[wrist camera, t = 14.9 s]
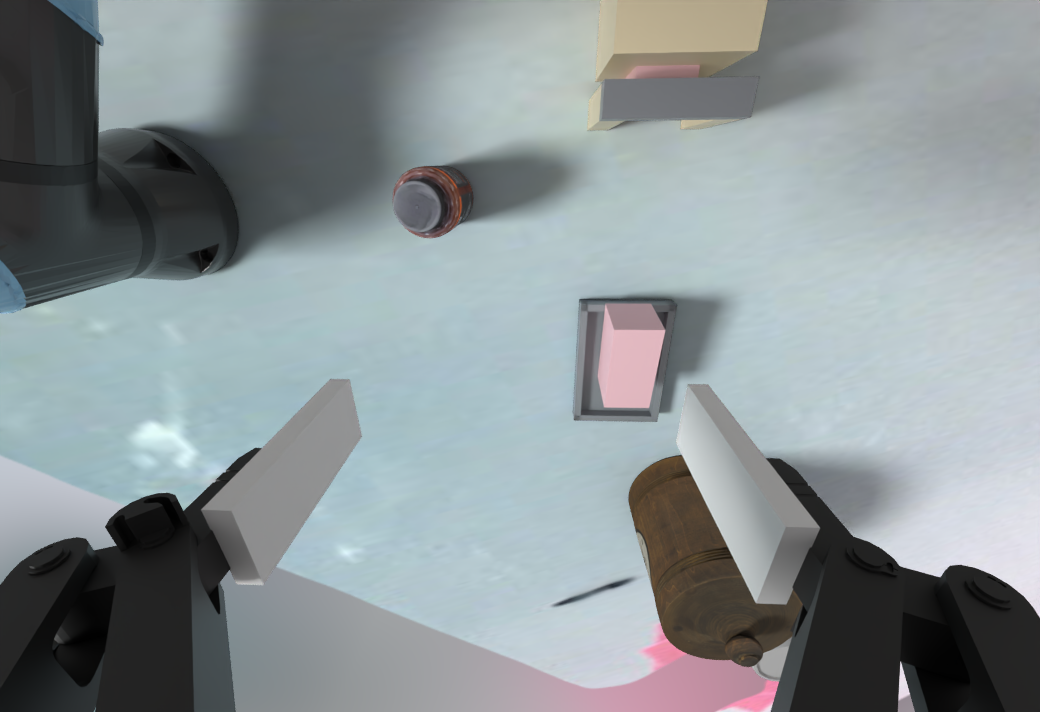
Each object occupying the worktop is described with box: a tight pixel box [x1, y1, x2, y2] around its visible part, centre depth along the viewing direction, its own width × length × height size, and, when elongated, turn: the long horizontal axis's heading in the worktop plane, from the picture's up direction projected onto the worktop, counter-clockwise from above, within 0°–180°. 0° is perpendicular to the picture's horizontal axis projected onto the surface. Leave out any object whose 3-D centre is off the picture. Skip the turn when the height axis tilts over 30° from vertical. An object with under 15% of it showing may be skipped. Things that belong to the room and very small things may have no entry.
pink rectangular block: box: [598, 303, 665, 408], centre depth 44 cm, size 5×10×6 cm, turn 1°
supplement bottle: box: [393, 166, 473, 238], centre depth 37 cm, size 6×6×11 cm
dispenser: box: [587, 0, 768, 131], centre depth 32 cm, size 11×12×10 cm
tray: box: [573, 299, 677, 422], centre depth 48 cm, size 11×16×2 cm
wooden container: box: [629, 456, 802, 667], centre depth 48 cm, size 15×15×22 cm
